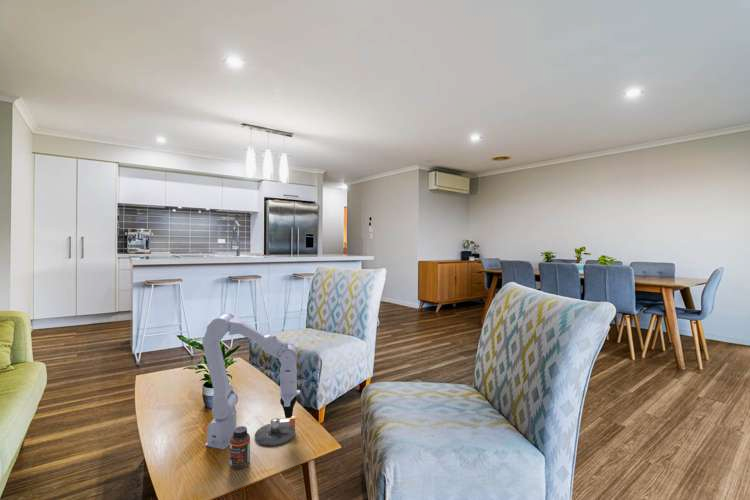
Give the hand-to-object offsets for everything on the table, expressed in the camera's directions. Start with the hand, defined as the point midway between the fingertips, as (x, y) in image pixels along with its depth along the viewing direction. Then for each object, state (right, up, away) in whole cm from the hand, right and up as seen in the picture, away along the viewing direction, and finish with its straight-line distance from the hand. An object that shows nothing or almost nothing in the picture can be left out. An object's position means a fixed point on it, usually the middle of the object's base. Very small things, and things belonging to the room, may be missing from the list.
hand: (288, 417), depth 128 cm
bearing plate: (-5, -7, +1) cm, 9 cm away
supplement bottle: (-11, -8, -16) cm, 21 cm away
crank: (-2, -6, +1) cm, 6 cm away
